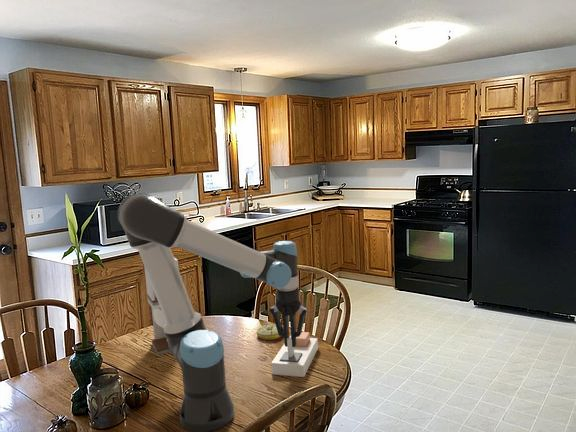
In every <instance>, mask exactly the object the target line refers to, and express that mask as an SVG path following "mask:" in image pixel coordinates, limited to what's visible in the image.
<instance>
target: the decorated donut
mask: <svg viewBox="0 0 576 432" xmlns="http://www.w3.org/2000/svg"><path fill="white" fill-rule="evenodd" d="M255 334H256V335H257V337H258V338H259V339H262V340H264V341H274V340H275V341H276V340H277V339H281V337H282V336H279V334H278V331H277V328H276V324H275V323H274V324H273V323H270V324H265V325H262V326H260V327H258V328H257V329H256V332H255Z"/></svg>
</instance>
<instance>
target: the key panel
mask: <svg viewBox="0 0 576 432" xmlns="http://www.w3.org/2000/svg"><path fill="white" fill-rule="evenodd" d="M318 349H319V339H318V338H317V337H310V341H309V343H308V344H307V346H306V347H300V346H295V347H294V352H297V353H302V357H301V358H300V360H299V362H284V361H280V359H281V357H282V356H283V354H284V353H285V352H288V347H286V346H285V343H284V342H283V345H282V346H281V348H280V349H279V351H278V352H277V354H276V355H275V356H274V358H273V360H272V361H271V363H270V365H271V367H270V368H271V375H274V376H275V375H277V376H285V377H286V376H288V377H289V376H290V377H298V378H299V377H301V378H304V377H305V376H306V373H308V369H309V368H310V367H311V366H310V365H311V364H312V362H313V359H314V358H315V356H316V353H317V351H318Z"/></svg>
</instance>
